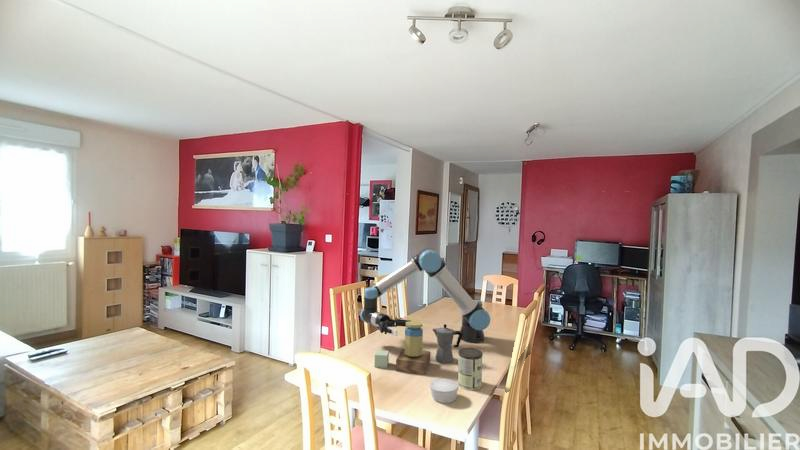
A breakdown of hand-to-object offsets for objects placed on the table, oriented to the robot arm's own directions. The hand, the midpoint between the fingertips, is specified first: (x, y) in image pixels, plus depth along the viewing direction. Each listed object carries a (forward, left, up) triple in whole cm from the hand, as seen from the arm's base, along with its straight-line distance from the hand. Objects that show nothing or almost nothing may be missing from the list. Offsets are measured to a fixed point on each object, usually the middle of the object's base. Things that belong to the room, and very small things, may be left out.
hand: (407, 330), depth 170 cm
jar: (-4, +2, -11) cm, 12 cm away
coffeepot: (-17, -12, -16) cm, 27 cm away
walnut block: (-4, +2, -17) cm, 17 cm away
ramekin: (-24, +25, -17) cm, 39 cm away
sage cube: (+11, +6, -16) cm, 21 cm away
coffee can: (-32, +10, -16) cm, 38 cm away
